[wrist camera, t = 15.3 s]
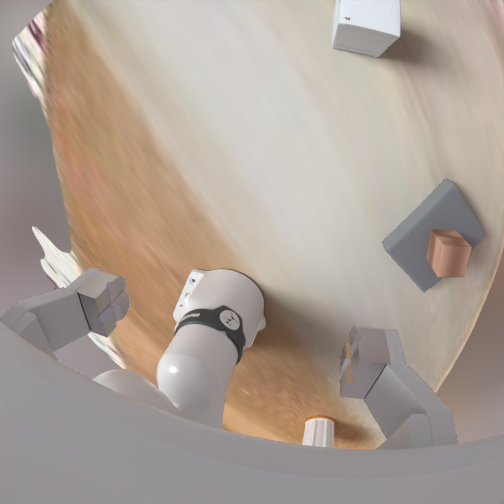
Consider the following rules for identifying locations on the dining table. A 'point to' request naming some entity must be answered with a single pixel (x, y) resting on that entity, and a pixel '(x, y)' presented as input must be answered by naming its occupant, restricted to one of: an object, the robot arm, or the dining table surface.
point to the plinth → (419, 227)
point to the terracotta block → (448, 253)
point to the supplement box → (366, 25)
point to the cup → (319, 432)
